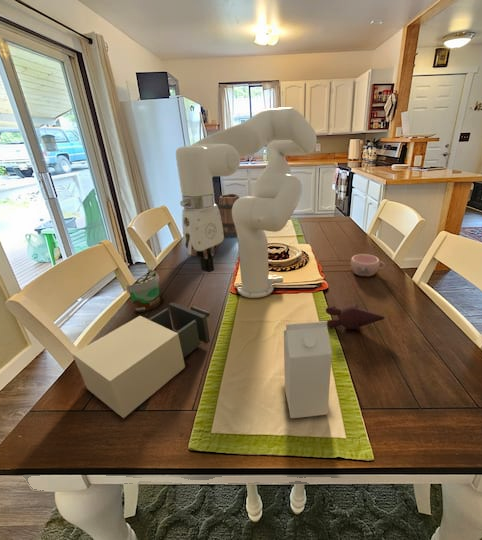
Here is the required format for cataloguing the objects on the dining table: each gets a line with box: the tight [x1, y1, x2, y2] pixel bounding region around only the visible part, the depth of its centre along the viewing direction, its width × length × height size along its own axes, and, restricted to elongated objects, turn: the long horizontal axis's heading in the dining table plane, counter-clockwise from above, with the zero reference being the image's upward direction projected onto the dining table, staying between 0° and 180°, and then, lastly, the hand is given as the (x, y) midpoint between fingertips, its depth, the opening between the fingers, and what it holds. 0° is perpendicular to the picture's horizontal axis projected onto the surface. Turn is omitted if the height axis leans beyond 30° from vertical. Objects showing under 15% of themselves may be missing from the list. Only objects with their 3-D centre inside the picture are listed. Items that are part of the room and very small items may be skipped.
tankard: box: [218, 193, 240, 238], centre depth 154 cm, size 24×17×20 cm
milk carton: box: [283, 320, 333, 419], centre depth 53 cm, size 7×7×19 cm
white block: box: [72, 315, 186, 419], centre depth 63 cm, size 16×14×10 cm
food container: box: [126, 268, 161, 313], centre depth 91 cm, size 12×6×10 cm, turn 168°
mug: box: [350, 253, 386, 277], centre depth 106 cm, size 12×10×6 cm
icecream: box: [325, 304, 386, 331], centre depth 77 cm, size 7×7×15 cm
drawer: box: [147, 301, 211, 359], centre depth 72 cm, size 19×13×8 cm
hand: (207, 270), depth 77 cm, fingers closed
